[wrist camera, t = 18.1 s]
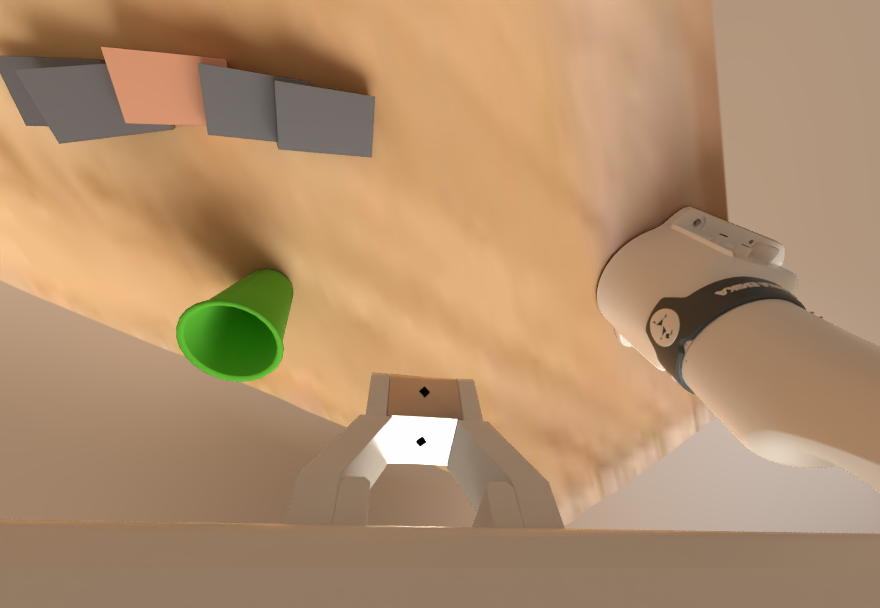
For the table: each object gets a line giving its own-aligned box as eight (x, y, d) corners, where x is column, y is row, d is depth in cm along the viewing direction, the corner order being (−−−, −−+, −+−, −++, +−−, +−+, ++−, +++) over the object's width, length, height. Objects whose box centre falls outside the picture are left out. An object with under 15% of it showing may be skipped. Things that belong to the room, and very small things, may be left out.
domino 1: (99, 59, 29) (-9, 55, 29) (124, 127, 32) (26, 125, 31) (116, 61, 31) (15, 57, 30) (139, 126, 34) (46, 123, 33)
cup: (237, 319, 44) (189, 381, 34) (221, 249, 39) (161, 298, 30) (314, 322, 45) (288, 383, 35) (307, 253, 40) (275, 303, 31)
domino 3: (225, 58, 30) (100, 46, 26) (238, 126, 32) (125, 123, 29) (226, 60, 31) (108, 48, 28) (238, 124, 34) (131, 121, 30)
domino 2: (142, 61, 29) (14, 69, 26) (172, 129, 32) (59, 143, 29) (147, 62, 31) (26, 71, 28) (175, 127, 33) (68, 140, 31)
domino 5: (374, 96, 32) (274, 80, 28) (371, 157, 34) (279, 149, 31) (368, 95, 33) (272, 79, 30) (365, 153, 36) (277, 145, 32)
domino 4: (309, 82, 31) (197, 62, 27) (310, 145, 33) (207, 134, 30) (306, 81, 32) (200, 62, 29) (307, 141, 35) (210, 131, 31)
